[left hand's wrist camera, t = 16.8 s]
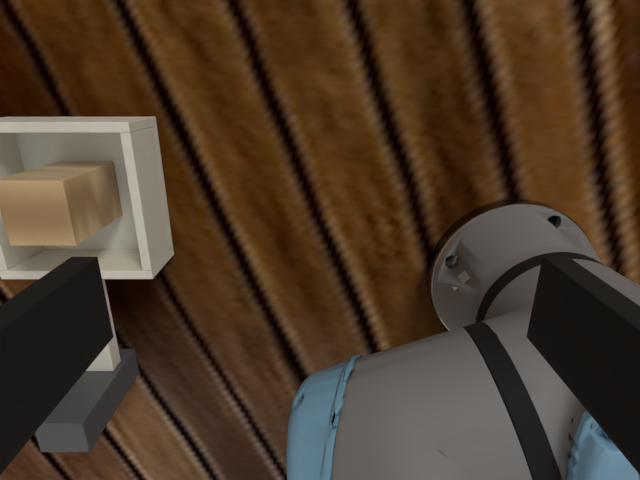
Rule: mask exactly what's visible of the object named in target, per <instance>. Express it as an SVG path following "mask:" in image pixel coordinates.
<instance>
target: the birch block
mask: <svg viewBox="0 0 640 480" xmlns="http://www.w3.org/2000/svg"><path fill="white" fill-rule="evenodd" d="M0 210H1V214H2V218H3V221H4V225H5V228H6V232H7V236H8V239H9V243H10V245H11V246H76V245H78V244H79V243H81V242H82V241H84V240H85V239H87V238H88V237H90V236H91V235H93V234H95V233H96V232H98V231H99V230H101V229H102V228H104V227H105V226H107V225H108V224H110V223H111V222H113V221H114V220H116V219H117V218H119V217H120V216H122V215H123V214H122V208H121V202H120V196H119V190H118V184H117V179H116V173H115V167H114V162H112V161H58V162H55V163H51V164H48V165H44V166H41V167H38V168H34V169H31V170H27V171H24V172H21V173H17V174H14V175H10V176H7V177H3V178H0Z"/></svg>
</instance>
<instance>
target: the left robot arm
mask: <svg viewBox="0 0 640 480" xmlns="http://www.w3.org/2000/svg"><path fill="white" fill-rule="evenodd" d="M427 285H428V292H429V296H430V299H431V302H432V304H433V307H434V309H435V311H436V313H437V315H438V316H439V318H440V320H441V321H442V323H443V324H444V325H445V327H446V328H447V329H448V330H449V331H446V332H443V333H440V334H436V335H433V336H430V337H426V338H423V339H420V340H416V341H413V342H410V343H407V344H403V345H400V346H397V347H393V348H390V349H387V350H383V351H380V352H377V353H374V354H370V355H367V356H364V357H362V356H361V355H359V354H358V355H354V356H352V357H351V358H350V359H349V360H348V361H346V362H343V363H340V364H337V365H334V366H332V367H329V368H326V369H323V370H320V371H318V372H315V373H313V374H312V375H310V376H309V377H308V378H307V379H305V381H304V382H303V383H302V384H301V386H300V387H299V389H298V391H297V393H296V395H295V398H294V401H293V405H292V409H291V414H290V418H289V425H288V435H287V480H640V286H638V285H637V284H635V283H633V282H632V281H630V280H628V279H627V278H625V277H623V276H622V275H620V274H619V273H617V272H615V271H614V270H612V269H610V268H608V267H607V266H605V265H603V264H602V262H601V261H600V259H599V257H598V256H597V254H596V252H595V250H594V249H593V247H592V245H591V244H590V242H589V240H588V238H587V236H586V235H585V233H584V232H583V230H582V229H581V228H580V227H579V226H578V225H577V224H576V223H575V222H574V221H573V220H572V219H570V218H569V217H568V216H566V215H564V214H563V213H561V212H559V211H557V210H555V209H553V208H551V207H549V206H547V205H544V204H541V203H538V202H534V201H529V200H505V201H499V202H495V203H491V204H488V205H485V206H483V207H480V208H478V209H476V210H474V211H472V212H471V213H469V214H467V215H466V216H464V217H463V218H461V219H460V220H459V221H458V222H456V223H455V224H454V225H453V226H452V227H451V228H450V229H449V230H448V231H447V232H446V233H445V235H444V236H443V237H442V239H441V240H440V242H439V243H438V245H437V247H436V248H435V250H434V253H433V255H432V258H431V260H430V264H429V268H428V276H427ZM112 338H113V332H112V327H111V322H110V317H109V312H108V307H107V302H106V297H105V292H104V287H103V282H102V277H101V272H100V267H99V262H98V257H70V258H69V259H68V260H66V261H65V262H63V263H62V264H60V265H59V266H57V267H56V268H55V269H53V270H52V271H50V272H49V273H47V274H46V275H44V276H43V277H41V278H40V279H39V280H37V281H36V282H34V283H33V284H31V285H30V286H28V287H27V288H26V289H24V290H23V291H21V292H20V293H18V294H17V295H15V296H14V297H12V298H11V299H10V300H8V301H7V302H5V303H4V304H2V305H1V306H0V475H1V473H2V472H3V471H4V470H5V468H6V467H7V466H8V465H9V464H10V462H11V461H12V460H13V459H14V458H15V456H16V455H17V454H18V453H19V451H20V450H21V449H22V448H23V447H24V445H25V444H26V443H27V442H28V440H29V439H30V438H31V437H32V436H33V434H34V433H35V432H36V431H37V430H38V428H39V427H40V426H41V425H42V423H43V422H44V421H45V420H46V419H47V417H48V416H49V415H50V414H51V412H52V411H53V410H54V409H55V408H56V406H57V405H58V404H59V403H60V401H61V400H62V399H63V398H64V397H65V395H66V394H67V393H68V392H69V391H70V389H71V388H72V387H73V386H74V384H75V383H76V382H77V381H78V380H79V378H80V377H81V376H82V375H83V373H84V372H85V371H86V370H87V369H88V367H89V366H90V365H91V364H92V363H93V361H94V360H95V359H96V358H97V356H98V355H99V354H100V353H101V352H102V350H103V349H104V348H105V347H106V345H107V344H108V343H109V342H110V341H111V339H112Z"/></svg>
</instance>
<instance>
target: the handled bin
mask: <svg viewBox="0 0 640 480" xmlns="http://www.w3.org/2000/svg"><path fill="white" fill-rule="evenodd" d="M58 161H112V162H114V167H115V173H116V179H117V184H118V190H119V196H120V202H121V208H122V214H123V215H122V216H120V217H119V218H117V219H116V220H114V221H113V222H111V223H110V224H108V225H107V226H105V227H104V228H102V229H101V230H99V231H98V232H96V233H95V234H93V235H91V236H90V237H88V238H87V239H85V240H84V241H82V242H81V243H79V244H78V245H76V246H11V245H10V243H9V239H8V236H7V232H6V228H5V225H4V221H3V218H2V214H1V210H0V277H1V279H40V278H41V277H43V276H44V275H46V274H47V273H49V272H50V271H52V270H53V269H55V268H56V267H57V266H59V265H60V264H62V263H63V262H65V261H66V260H68V259H69V258H70V257H98V262H99V267H100V272H101V277H102V282H103V287H104V292H105V297H106V302H107V307H108V312H109V317H110V322H111V327H112V332H113V338H112V339H111V341H110V342H109V343H108V344H107V345H106V347H105V348H104V349H103V350H102V352H101V353H100V354H99V355H98V356H97V358H96V359H95V360H94V361H93V363H92V364H91V365H90V366H89V367H88V369H87V370H86V371H85V372H84V373H83V375H82V376H81V377H80V378H79V380H78V381H77V382H76V383H75V384H74V386H73V387H72V388H71V389H70V391H69V392H68V393H67V394H66V395H65V397H64V398H63V399H62V400H61V401H60V403H59V404H58V405H57V406H56V408H55V409H54V410H53V411H52V412H51V414H50V415H49V416H48V417H47V419H46V420H45V421H44V422H43V423H42V425H41V426H40V427H39V428H38V430H37V431H36V432H35V434H36V437H37V440H38V443H39V447H40V450H41V452H90V450H91V449H92V447H93V446H94V444H95V442H96V441H97V439H98V438H99V436H100V434H101V433H102V431H103V430H104V428H105V427H106V425H107V423H108V422H109V420H110V419H111V417H112V415H113V414H114V412H115V411H116V409H117V407H118V406H119V404H120V403H121V401H122V399H123V398H124V396H125V395H126V393H127V392H128V390H129V388H130V387H131V385H132V384H133V382H134V380H135V379H136V377H137V376H138V374H139V370H138V364H137V359H136V353H135V349H118V344H117V339H116V334H115V329H114V324H113V319H112V314H111V309H110V304H109V299H108V294H107V289H106V284H105V279H153V278H154V277H155V276H156V275H157V273H158V272H159V271H160V270H161V269H162V268H163V266H164V265H165V264H166V263H167V262H168V261H169V259H170V258H171V257H172V256H173V255H174V250H173V243H172V235H171V228H170V220H169V213H168V205H167V197H166V190H165V182H164V175H163V167H162V160H161V152H160V145H159V137H158V130H157V122H156V117H1V118H0V178H3V177H7V176H10V175H14V174H17V173H21V172H24V171H27V170H31V169H34V168H38V167H41V166H44V165H48V164H51V163H55V162H58Z"/></svg>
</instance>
